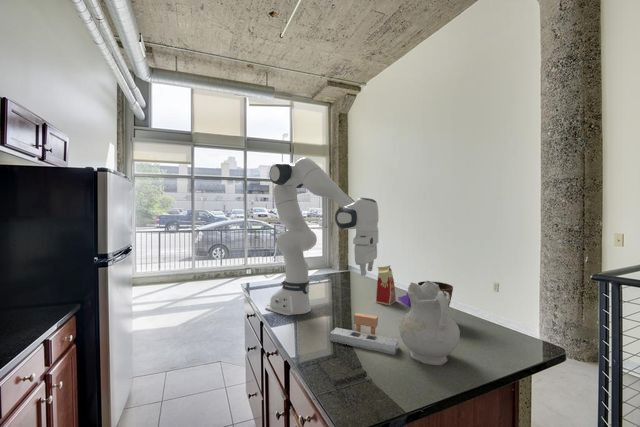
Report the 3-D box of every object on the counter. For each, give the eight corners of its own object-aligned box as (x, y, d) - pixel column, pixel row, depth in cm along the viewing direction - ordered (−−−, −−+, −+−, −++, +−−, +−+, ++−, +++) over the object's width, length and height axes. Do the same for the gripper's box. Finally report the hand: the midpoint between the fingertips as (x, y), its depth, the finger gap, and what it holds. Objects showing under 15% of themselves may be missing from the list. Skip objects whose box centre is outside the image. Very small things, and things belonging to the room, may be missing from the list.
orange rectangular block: (353, 332, 120) (353, 315, 120) (355, 329, 123) (356, 312, 123) (375, 336, 116) (376, 318, 116) (377, 333, 119) (377, 316, 119)
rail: (329, 341, 112) (330, 333, 112) (335, 335, 117) (335, 327, 117) (395, 354, 102) (395, 346, 102) (398, 347, 107) (398, 339, 107)
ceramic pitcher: (477, 375, 92) (484, 294, 93) (423, 379, 87) (430, 293, 87) (432, 344, 113) (437, 278, 113) (386, 346, 107) (392, 277, 108)
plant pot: (415, 313, 144) (416, 280, 144) (448, 316, 141) (449, 282, 141) (419, 324, 129) (419, 287, 129) (456, 328, 126) (456, 290, 126)
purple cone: (420, 306, 155) (420, 293, 155) (408, 307, 154) (408, 293, 154) (409, 299, 167) (409, 287, 167) (398, 300, 166) (398, 287, 166)
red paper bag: (395, 301, 163) (396, 264, 163) (390, 305, 155) (390, 267, 155) (379, 298, 168) (380, 262, 167) (373, 302, 160) (374, 265, 160)
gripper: (366, 236, 130) (366, 268, 130) (351, 240, 111) (351, 277, 112) (380, 236, 128) (380, 269, 128) (368, 240, 109) (368, 278, 109)
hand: (366, 273), depth 119 cm, fingers open, 8 cm apart
